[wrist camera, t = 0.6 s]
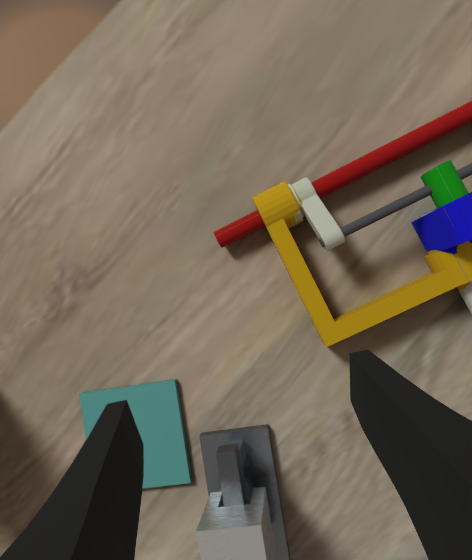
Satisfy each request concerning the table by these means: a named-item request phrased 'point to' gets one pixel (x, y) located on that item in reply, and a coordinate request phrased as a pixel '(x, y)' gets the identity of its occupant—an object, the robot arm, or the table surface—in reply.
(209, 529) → the steel hook block
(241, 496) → the rail holder
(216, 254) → the table surface
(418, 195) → the mechanical clamp
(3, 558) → the robot arm
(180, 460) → the teal mat
